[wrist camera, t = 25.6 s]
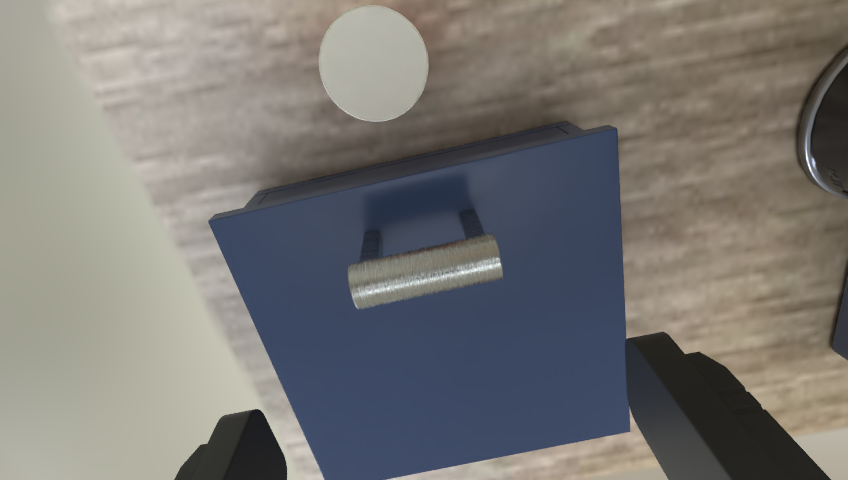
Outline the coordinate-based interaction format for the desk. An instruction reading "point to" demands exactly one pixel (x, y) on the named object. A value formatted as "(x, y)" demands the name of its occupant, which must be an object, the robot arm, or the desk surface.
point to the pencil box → (414, 162)
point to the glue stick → (373, 63)
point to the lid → (444, 306)
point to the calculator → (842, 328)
